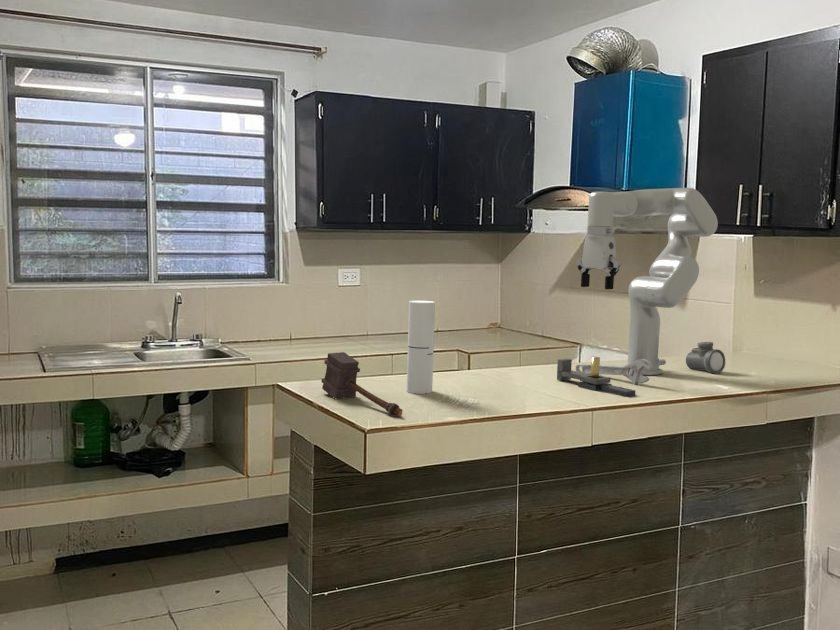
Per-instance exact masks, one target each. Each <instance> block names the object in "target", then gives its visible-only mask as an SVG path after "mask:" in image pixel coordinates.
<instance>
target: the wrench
mask: <svg viewBox="0 0 840 630" xmlns="http://www.w3.org/2000/svg"><path fill="white" fill-rule="evenodd" d="M580 367H581V369H580ZM644 367H646V368H648V369H653V366H652V364H651V362H649V361H648V360H646V359H640V360H637V361H635V362H633V363H631V364H629V365H628V364H627V365H623V366H622V365H620V366H619V365H607V364H606V365H605V364H604V365H603V364H602V365H600V367H599V375H610V376H613V375H614V376H623V377H625V378H626V379H628V380H630V381H631V383H632V385H634V386H635V385H636V386H637V385H639V384H644V383H647V382H648V381H650V377H648V375H642V369H643V368H644ZM575 371H577V372H582V373H586V374H591V364H585V363H580V364H577V365H576V366H575Z"/></svg>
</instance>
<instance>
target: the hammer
mask: <svg viewBox="0 0 840 630" xmlns="http://www.w3.org/2000/svg"><path fill="white" fill-rule="evenodd" d="M359 363H360V361H358V360H356V359H355V358H353V357H352V356H350V355H349V354H347V353H346V352H344V351H343V352H331V353H327V359H324V363H323V364H325V365H326V368H325V373H324V378H323V377H322V378H321V383H322V388H321V390H323V391H324V392H325V393H327V394H328V395H330V397H332V398H333V397H334V398H340V399H344V398H343V397H349V398H355V397H354V396H356V397H357V392H358V393H359V394H360V395H362V396H363V397H365V398H366V399H368V400H369V401H371V402H373V403H374V404H375V405H377V406H379V407H381V408H383V409H384V410H385V412H387V413H388V414H389V415H390V416H391V415H395V416H396V417H399V418H400V417H401V416H402V415H403V411H404V409H402V408H400V406H399V405H398V404H397V403H395V402H388V401H385V400H384V399H382V398H380V397H378V396H377V395H374V394H373V393H371V392H369V391H368V390H367V389H365V388H363V387H362V386H360V385H359V384H357V375H358V373H360V372H361V368H359ZM334 398H333V399H334Z"/></svg>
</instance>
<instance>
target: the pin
mask: <svg viewBox="0 0 840 630" xmlns="http://www.w3.org/2000/svg"><path fill="white" fill-rule="evenodd" d="M590 360H591V363H590V365H591V378H595V379H597V378H599V375H600V374H599V367H600V362H601V357H600V356H591V359H590ZM590 384H591V383H590ZM593 385H599V384H593Z"/></svg>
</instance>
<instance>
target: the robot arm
mask: <svg viewBox="0 0 840 630" xmlns="http://www.w3.org/2000/svg"><path fill="white" fill-rule="evenodd" d="M588 197H589V198H588V208H587V209H588V212H587V213H588V214H587V229H586V230H587V231H586V232H587V233H586V234H587V235H586V236H585V239H584V244H583V249H582V256H580V257H578V258H577V259H576V260H575V263H576V265H577V270H579V274H580V275H581V276H580V277H581V278H580V287H581V288H588V287H590V278H591V275H590V274H589V273H591V272H590V271H591V270H604V272H605V274H606V275H605V278H604V289H605V290H613V289H614V280H615V277H616V276H617V274H618V272H619V271H620V268H621V266H622V262H621V260H619V259H617V257H616V256H617V251H616V250H617V249H616V248H617V247H616V240H615V237H613V234H614V233H615V229H614V227H613V226H614V217H617V218H619V217H620V218H622V217H623V218H625V217H629V216H633V217H651V216H653V217H654V216H664V215H666V216H667V215H670V216H669V218H668V220H667V221H668V222H667V234H668V239H667V240H668V241H667V245H666V246H665V248H663V250H662V251H661V253H659V255H658V256H657V257H656V258H655V259H654V261H653V262H652V263H651V265H650V267H649V270H648V271H649V273H648V274H649V276H648V275H642V276H637V277H635V278H633V279H632V280H631V281H630V284H629V285H628V300H629V309H630V310H629V311H630V312H629V313H630V314H629V317H630V318H629V320H630V321H629V335H628V347H627V348H628V352H627V365H629V364H631V363H633V362H635V361H637V360H640V359H646V360H648V361H649V362H651V364H652V366H653V369H648V368H646V367H644V368H643V369H642V375H644V376H657V375H661V374H662V373H663V369H661V368H660V366H664V365H666V362H667V361H666V360H665V359H664V358H663V359H660V357H659V347H660V345H659V344H660V330H661V329H660V328H661V318H660V317H661V316H660V314H659V311H658V308H665V309H666V308H667V309H671V308H674V307H676V306H678V305H679V304H680V302H682V300H683V299H684V298H685V297H686V296H687V294H688V293H689V292H690V290H691V289H692V288H693V286H695V283H696V282H697V280H698V278H699V274H700V266H699V263H698V261H697V260H696V259H695V258H693V257H692V247H691V245H690V243H689V240H688V237H701V238H705V237H710V236H713V234H715V233H716V231H717V230H718V225H719V223H718V222H719V221H718V218H717V215H716V213H715V212H714V210H713V209H712V207H711V205H710V204H709V202H708V201H707V200H706V199H705V198H706V197H704V196H703V194H701V192H699V190H697V189H696V188H694V187H676V188H675V187H672V188H671V187H670V188H669V187H668V188H647V189H646V188H645V189H635V190H630V191H617V192H616V191H615V192H611V191H610V192H609V191H592V192H590V194H589V196H588Z"/></svg>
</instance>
